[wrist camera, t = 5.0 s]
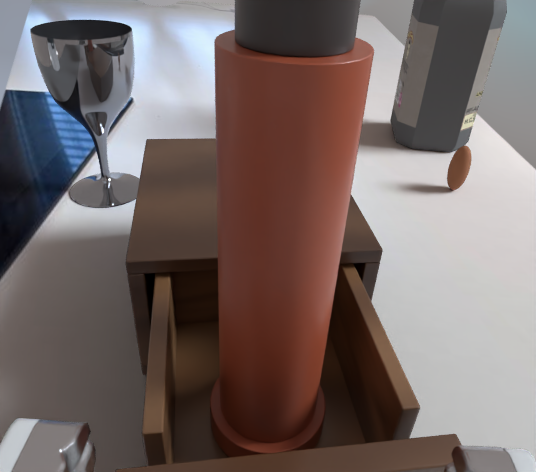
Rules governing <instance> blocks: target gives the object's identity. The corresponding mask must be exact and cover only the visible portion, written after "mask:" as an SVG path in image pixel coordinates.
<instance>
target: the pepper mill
mask: <svg viewBox="0 0 536 472" xmlns="http://www.w3.org/2000/svg"><path fill="white" fill-rule="evenodd" d="M360 1H361V0H235V30H232V31H228V32H225V33H223V34H220V35H219V36H217V37H216V39H215V106H216V170H217V235H218V300H219V365H220V376H219V378H218V379H217V381H216V382H215V384H214V386H213V389H212V392H211V397H210V421H211V429H212V433H213V436H214V438H215V440H216V442H217V444H218V445H219V447H220V448H221V449H222V450H223V452H224V453H225V454H226V455H227V456H229V457H239V456H248V455H258V454H267V453H277V452H286V451H296V450H306V449H314V448H315V447H316V445H317V443H318V441H319V439H320V436H321V433H322V428H323V423H324V417H325V410H326V403H325V397H324V393H323V391H322V388H321V386H320V378H321V372H322V366H323V360H324V354H325V348H326V342H327V335H328V329H329V323H330V317H331V311H332V305H333V299H334V293H335V287H336V281H337V274H338V268H339V262H340V256H341V250H342V244H343V238H344V232H345V226H346V219H347V213H348V207H349V201H350V195H351V189H352V183H353V177H354V171H355V164H356V158H357V152H358V146H359V140H360V134H361V128H362V122H363V116H364V110H365V103H366V97H367V91H368V85H369V79H370V73H371V67H372V61H373V55H374V49H373V47H372V46H371V45H370V44H368V43H367V42H365V41H363V40H361V39H358V38H356V37H355V36H356V29H357V22H358V15H359V8H360Z"/></svg>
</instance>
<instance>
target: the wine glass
mask: <svg viewBox="0 0 536 472" xmlns="http://www.w3.org/2000/svg"><path fill="white" fill-rule="evenodd" d="M30 32H31V38H32V43H33V47H34V51H35V55H36V59H37V63H38V66H39V69H40V71H41V74H42V77H43V79H44V82H45V84H46V86H47V88H48V90H49V92H50V94H51V95H52V97H53V99H54V100H55V102H56V103H57V104H58V105H59V106H60V107H61V108H63V109H64V110H65V111H66V112H67V113H69V114H70V115H71V116H72V117H74V118H75V119H76V120H77V121H79V122H80V123H81V124H82V125H83V126H84V127H85V128H86V129H87V131H88V132H89V134H90V135H91V137H92V139H93V142H94V145H95V148H96V151H97V155H98V159H99V163H100V169H101V174H96V175H92V176H89V177H86V178H84V179H82V180H80V181H78V182H77V183H75V184H74V185H73V187H72V188H71V191H70V196H71V198H72V199H73V200H74V201H75V202H77V203H79V204H81V205H85V206H89V207H112V206H118V205H122V204H125V203H128V202H130V201H132V200H134V199H136V198H137V192H138V186H139V181H140V179H139V178H137V177H135V176H133V175H130V174H126V173H114V172H112V173H110V172H109V167H108V160H107V135H108V131H109V128H110V126H111V124H112V122H113V121H114V119H115V118H116V117H117V115H118V114H119V113H120V111H121V110H122V109H123V107H124V106H125V105H126V103H127V101H128V100H129V98H130V96H131V92H132V88H133V80H134V64H135V58H134V43H133V34H132V28H131V27H130V26H128V25H125V24H122V23H117V22H111V21H102V20H66V21H56V22H50V23H44V24H40V25H37V26H35V27H33V28H32V29H31V31H30Z"/></svg>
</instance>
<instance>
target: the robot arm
mask: <svg viewBox="0 0 536 472" xmlns="http://www.w3.org/2000/svg"><path fill="white" fill-rule="evenodd" d="M90 432H91V431H90V428H89V425H88V423H84V422H68V421H52V420H42V419H26V418H17V419H16V420H15V421H14V422H13V423H12V424H11V425H10V426H9V428H8V430H7V432H6V434H5V435H4V437H3V439H2V441H1V443H0V472H93V471H94V465H95V460H96V457H95V446H94V443H92V442H91V441H90V440H89V439H88V437H89V435H90ZM451 455H452V459H453V462H451V463H449V464H448V465H446V466H445V469H444V471H443V472H536V462H535V459H534V457H533V455H532V454H531V453H530V452H529V451H528V450H525V449H514V448H502V447H482V446H456V447H454V449H453V451H452V453H451Z"/></svg>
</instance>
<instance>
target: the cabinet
mask: <svg viewBox="0 0 536 472" xmlns="http://www.w3.org/2000/svg"><path fill="white" fill-rule="evenodd" d="M381 255H382V248H381V246H380V244H379V243H378V241H377V239H376V237H375V236H374V234H373V232H372V230H371V229H370V227H369V225H368V223H367V222H366V220H365V218H364V216H363V215H362V213H361V211H360V209H359V208H358V206H357V204H356V202H355V200H354V199H353V197H352V195H350V201H349V207H348V213H347V219H346V226H345V232H344V238H343V244H342V250H341V256H340V262H339V264H346V263H353V264H354V266H355V268H356V270H357V272H358V275H359V277H360V279H361V281H362V283H363V285H364V287H365V290H366V292H367V294H368V296H369V298H370V300H372V296H373V291H374V287H375V282H376V278H377V273H378V269H379V264H380V260H381ZM126 268H127V273H128V282H129V288H130V295H131V301H132V308H133V315H134V321H135V328H136V334H137V341H138V348H139V354H140V361H141V367H142V373H143V375H147V365H148V354H149V342H150V330H151V318H152V307H153V295H154V283H155V273H164V272H184V271H205V270H218V235H217V170H216V139H147V140H146V146H145V151H144V157H143V163H142V169H141V175H140V181H139V186H138V192H137V198H136V204H135V210H134V216H133V221H132V227H131V233H130V239H129V245H128V251H127V256H126Z"/></svg>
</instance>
